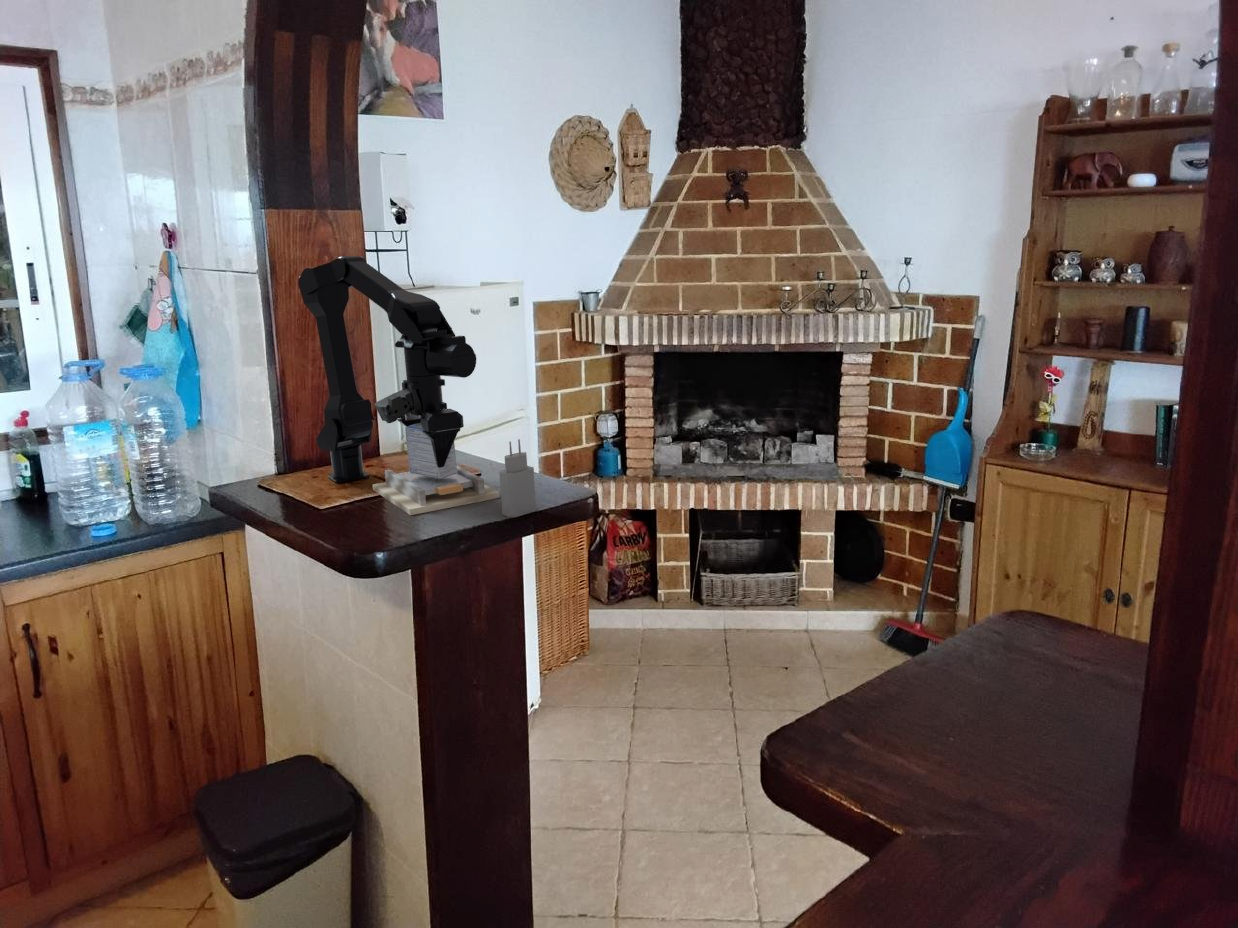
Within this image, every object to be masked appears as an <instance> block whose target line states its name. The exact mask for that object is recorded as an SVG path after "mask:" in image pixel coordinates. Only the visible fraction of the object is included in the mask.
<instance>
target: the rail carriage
mask: <svg viewBox="0 0 1238 928" xmlns="http://www.w3.org/2000/svg"><path fill="white" fill-rule="evenodd" d="M397 474H399V475H400V476H402V477H404V478H405V479H407V480H409V481H410V482H412V483H414V484H415V485H417V486H419V487H420V488H422V489H424V490H425V495H430V494H436V493H438V494H439V495H444V494H450V493H455V492H460V491H463V488H468V487H473V482H472V480H470V479H468V478H466V477H464V476H462V475H460V474H458V473H456V474H454V475H451V476H448V477H444V478H441V479H439V478H434V477H428V476H423V475H417V474H411V473H410V470H408V471H405V472H399V473H397Z"/></svg>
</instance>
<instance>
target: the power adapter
mask: <svg viewBox="0 0 1238 928" xmlns="http://www.w3.org/2000/svg"><path fill="white" fill-rule="evenodd" d="M517 442H518V443H517V444H518V452H515V453H513V451H512V450H513V448H512V442H511V441H509V442H508V443H509V454H507V455H504V466H505V468H504V469H503V470H500V471H499V484H500V499H501V510H502V511H501V514H502V516H505V517H507V518H508V517H509V518H518V517H520V516H523V515H526V514H530V513H533V512H536V511H537V498H536V486H535V484H536V483H535V467H534V466H531V465H530V466H529V465H528V458H527V457H528V456H527V452H526V451H525V452H524V451H521V439H517Z"/></svg>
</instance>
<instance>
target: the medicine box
mask: <svg viewBox="0 0 1238 928" xmlns="http://www.w3.org/2000/svg"><path fill="white" fill-rule="evenodd" d="M404 429H405V432H404V433H405V440H406V450H407V460H408V471H410V473H411V474H417V475H423V476H428V477H434V478H439V479H441V478H444V477H448V476H451V475H454V474H456V473H457V466H458V464H457V456H456V455H457V454H456V445H455V441H454V442H453V445H452V447H451V450H450V452H449V455H448V458H447V460H446V463H445V465H444V467H441V468H438V467H437V464H436V460H435V456H434V452H433V447H432V443H431V439H430V438H429V437H428V436H427V435H425V434H424V433H423V432H422V431H423V428H422V425H421V423H417V424H413V425H410V426H407V427H406V426H405V427H404Z"/></svg>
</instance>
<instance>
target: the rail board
mask: <svg viewBox="0 0 1238 928" xmlns="http://www.w3.org/2000/svg"><path fill="white" fill-rule="evenodd" d="M457 473H458V474H460V475H462V476H464V477H466V478H468V479H470V480H472V482H473V487H468V488H463V491H460V492H455V493H450V494H444V495H439V494H438V493H436V494H430V495H425V490H424V489H422V488H420V487H419V486H417V485H415V484H414V483H412V482H410V481H409V480H407V479H405V478H404V477H402V476H400V475H399V474H398V473H397V472H395V471H393V470H392V469H385V470H384V478H385V481H384V482H379V483H373V484H372V491H374V492H375V493H377V494H378V495H380V496H381V497H383V498H384V499H386V500H387V501H389V502H390V503H391V504H393V505H394V506H396V507H398V508H399V509H400V510H402V511H403V512H404V513H406V514H408V515H409V516H413V515H414V516H415V515H419V514H423V513H424V514H425V513H428V512H433V511H440V510H445V509H448V508H453V507H460V506H464V505H469V504H475V503H480V502H484V501H491V500H495V499H501V496H500V491H498V490H496V489H494V488H491V487H490V486H488V485H486V484H485V479H484V478H482V477H480V476H479V475H476V474H474V473H472V472H471V471H468V470H467V469H464V468H463V467H460V466H458V465H457Z"/></svg>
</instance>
